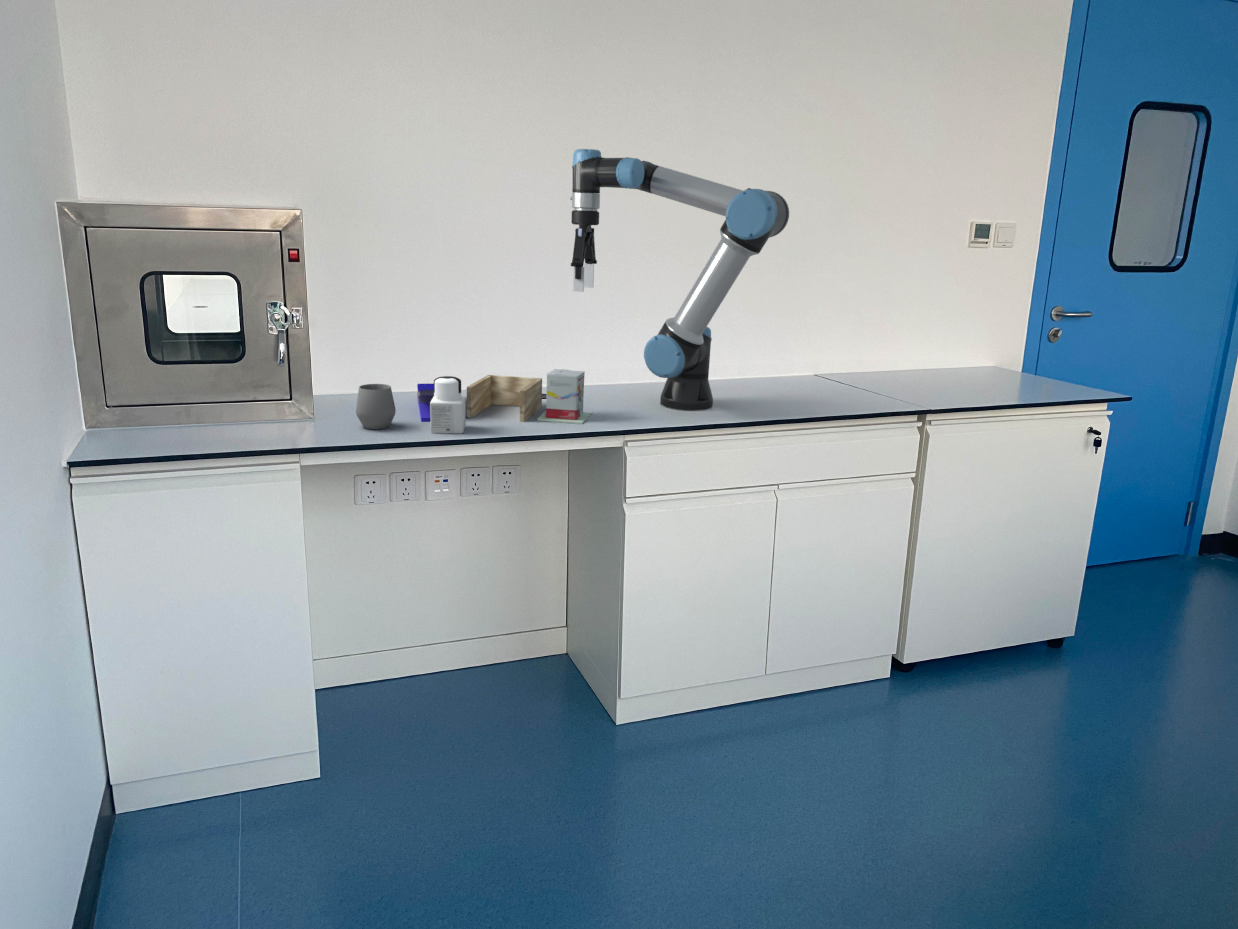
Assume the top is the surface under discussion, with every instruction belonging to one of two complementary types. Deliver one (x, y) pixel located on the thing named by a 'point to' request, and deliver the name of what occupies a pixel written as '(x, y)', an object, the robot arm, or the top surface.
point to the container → (447, 406)
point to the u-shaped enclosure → (505, 394)
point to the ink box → (565, 394)
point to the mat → (578, 421)
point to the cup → (375, 406)
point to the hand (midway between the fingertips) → (583, 289)
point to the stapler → (425, 400)
